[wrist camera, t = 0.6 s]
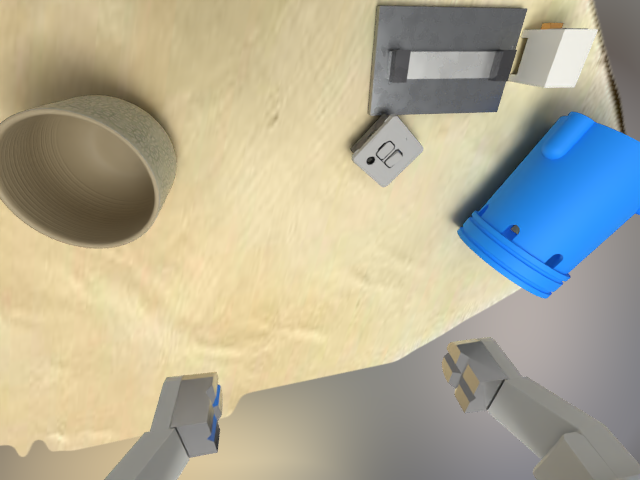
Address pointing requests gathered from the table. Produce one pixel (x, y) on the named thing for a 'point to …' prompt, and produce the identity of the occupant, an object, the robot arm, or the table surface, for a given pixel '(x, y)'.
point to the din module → (553, 56)
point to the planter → (86, 170)
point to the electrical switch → (386, 149)
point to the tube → (558, 204)
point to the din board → (441, 59)
